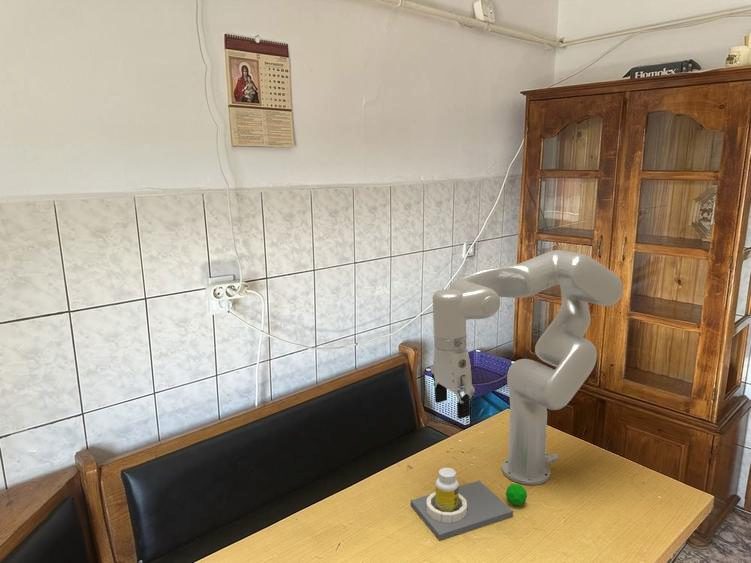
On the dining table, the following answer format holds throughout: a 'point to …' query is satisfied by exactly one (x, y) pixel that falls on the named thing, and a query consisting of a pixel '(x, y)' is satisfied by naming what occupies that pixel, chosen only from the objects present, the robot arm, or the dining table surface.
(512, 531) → the dining table surface
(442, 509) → the supplement bottle
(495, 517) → the pin board
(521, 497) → the polyhedron
